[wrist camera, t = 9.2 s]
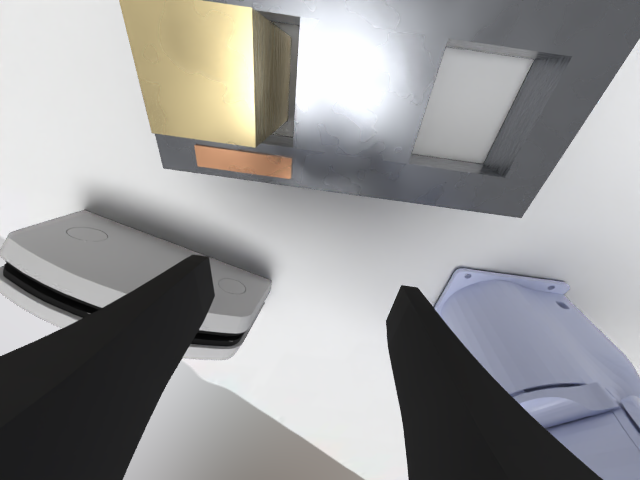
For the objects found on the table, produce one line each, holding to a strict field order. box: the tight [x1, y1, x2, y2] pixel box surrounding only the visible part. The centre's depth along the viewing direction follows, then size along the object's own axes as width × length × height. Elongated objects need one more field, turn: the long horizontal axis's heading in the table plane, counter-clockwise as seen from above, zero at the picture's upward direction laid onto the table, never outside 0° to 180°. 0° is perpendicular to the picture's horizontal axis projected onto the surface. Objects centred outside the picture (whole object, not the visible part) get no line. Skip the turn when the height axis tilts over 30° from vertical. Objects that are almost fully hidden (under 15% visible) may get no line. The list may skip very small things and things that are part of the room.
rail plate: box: [155, 0, 640, 218], centre depth 13 cm, size 22×10×3 cm, turn 83°
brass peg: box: [119, 0, 291, 148], centre depth 11 cm, size 4×4×7 cm
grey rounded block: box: [0, 210, 272, 360], centre depth 19 cm, size 17×5×10 cm, turn 65°
